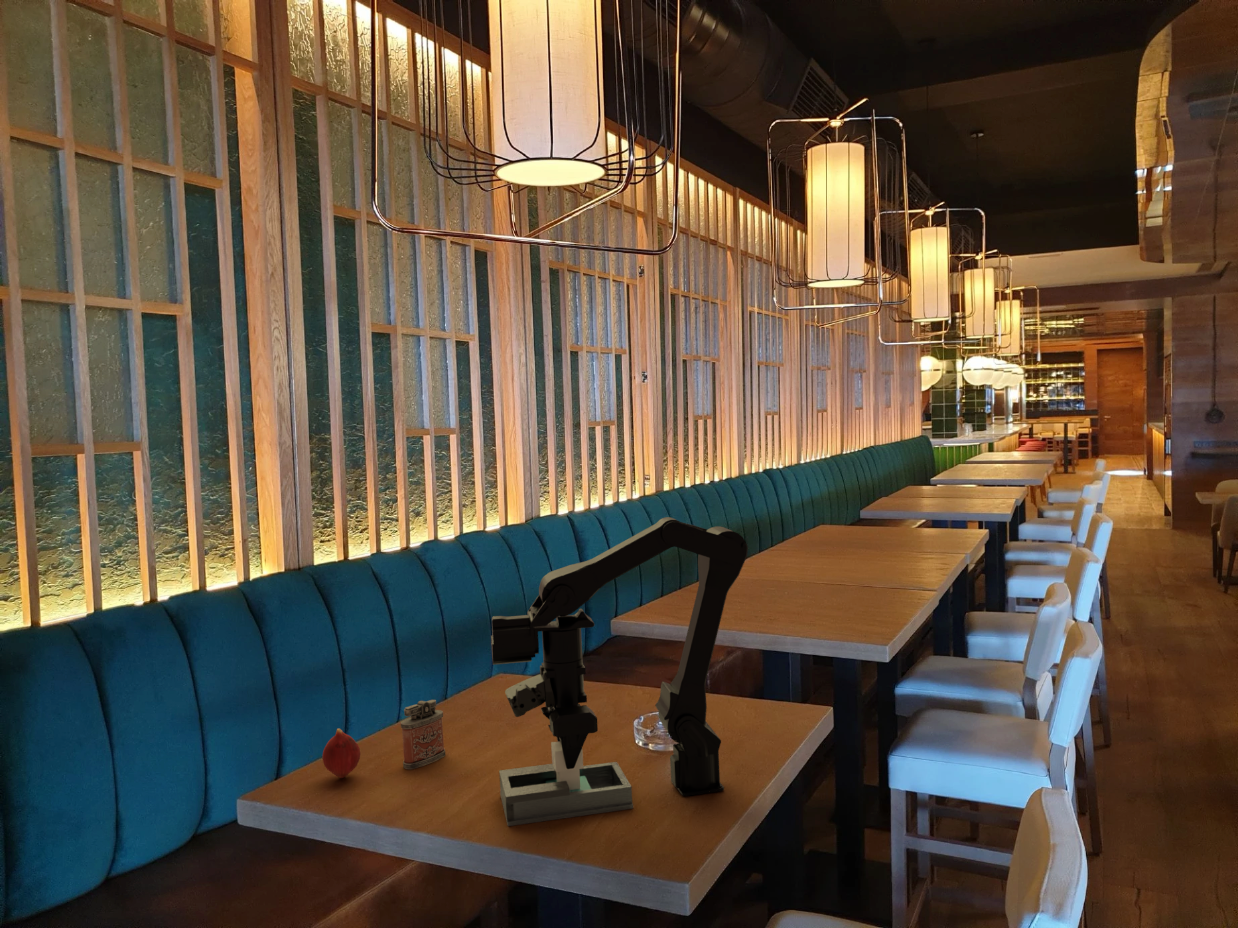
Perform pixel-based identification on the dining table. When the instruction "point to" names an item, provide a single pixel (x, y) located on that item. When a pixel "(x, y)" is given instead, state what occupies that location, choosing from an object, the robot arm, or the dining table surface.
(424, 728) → the lighter
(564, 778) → the slider
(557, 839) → the dining table surface
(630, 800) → the keyhole guide
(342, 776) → the onion
